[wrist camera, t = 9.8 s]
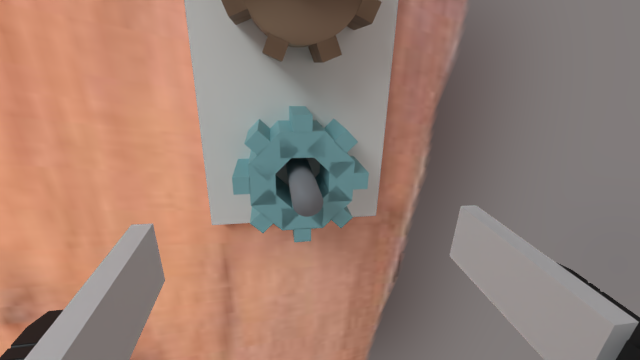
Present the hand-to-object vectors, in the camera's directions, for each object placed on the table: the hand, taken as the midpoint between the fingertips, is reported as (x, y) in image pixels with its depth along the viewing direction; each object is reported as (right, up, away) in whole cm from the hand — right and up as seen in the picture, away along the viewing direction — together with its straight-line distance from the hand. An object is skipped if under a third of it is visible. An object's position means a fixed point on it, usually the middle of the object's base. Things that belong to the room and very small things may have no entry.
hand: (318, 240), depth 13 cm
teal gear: (-2, +4, +11) cm, 12 cm away
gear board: (-2, +10, +10) cm, 14 cm away
